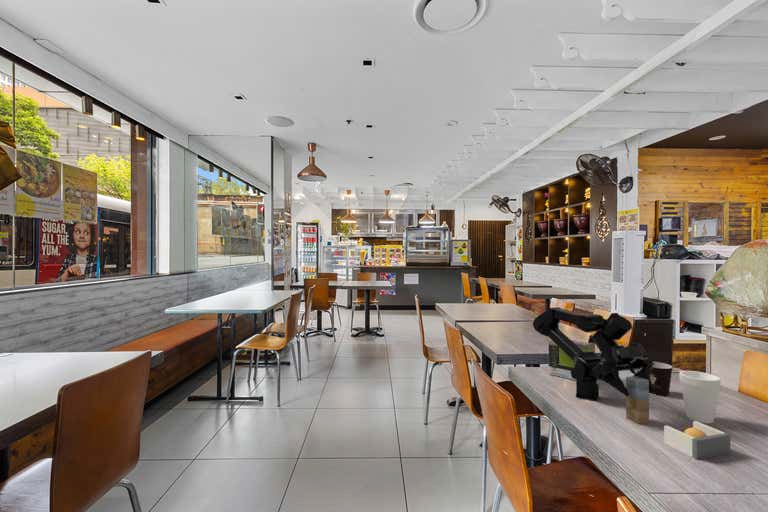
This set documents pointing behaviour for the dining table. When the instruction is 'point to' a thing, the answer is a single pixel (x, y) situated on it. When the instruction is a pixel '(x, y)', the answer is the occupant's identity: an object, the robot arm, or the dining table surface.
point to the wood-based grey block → (637, 399)
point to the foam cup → (700, 395)
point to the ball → (695, 432)
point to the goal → (698, 441)
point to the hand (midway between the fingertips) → (640, 394)
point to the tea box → (565, 358)
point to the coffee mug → (661, 378)
